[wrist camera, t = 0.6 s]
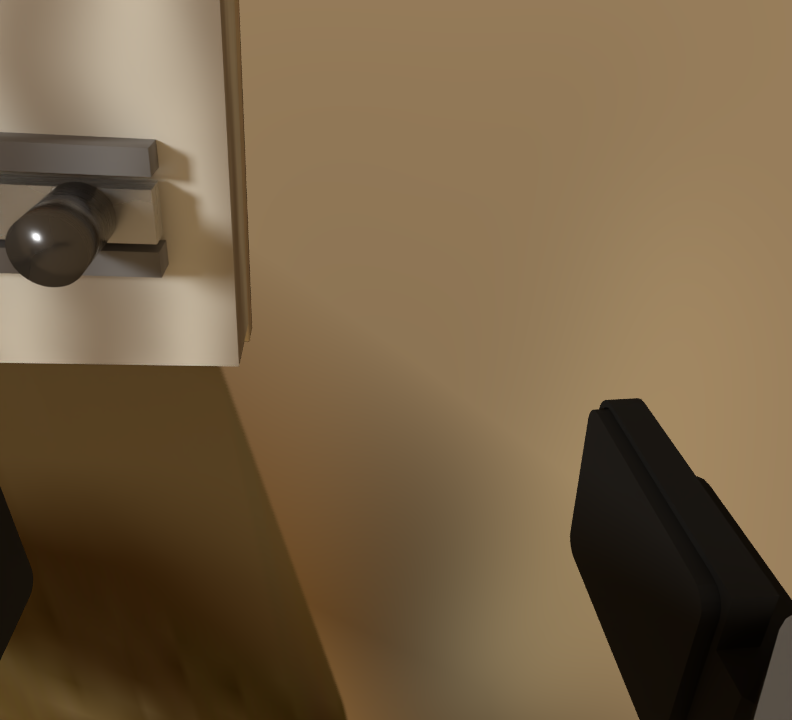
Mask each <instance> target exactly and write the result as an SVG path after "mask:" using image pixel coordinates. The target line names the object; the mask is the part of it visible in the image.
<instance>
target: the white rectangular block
mask: <svg viewBox="0 0 792 720" xmlns="http://www.w3.org/2000/svg"><path fill="white" fill-rule="evenodd" d="M243 118H244V115H243V90H242V66H241V42H240V17H239V0H0V174H14V175H38V176H62V177H86V178H109V179H133V180H157V181H158V183H159V193H160V202H161V212H162V222H163V231H164V233H163V235H162V237H161V238H160V240H159V242H158V244H128V243H106V244H105V246H104V247H103V248H102V249H101V251H100V252H99V253H98V255H97V256H96V257H95V259H94V260H93V261H92V263H91V264H90V265H89V267H88V268H87V269H86V270H85V272H84V273H83V274H82V276H81V277H80V278H79V279H78V280H77V281H75V282H74V283H72V284H70V285H67V286H64V287H45V286H41V285H38V284H36V283H33V282H31V281H29V280H28V279H26V278H25V277H23V276H22V275H21V274H20V273H19V272H18V271H17V270H16V269H15V268H14V267H13V265H12V264H11V262H10V260H9V258H8V256H7V253H6V248H5V239H0V363H60V364H124V365H187V366H239V364H240V359H241V354H242V350H243V345H244V342H249V340H250V335H251V330H252V314H251V290H250V265H249V240H248V215H247V192H246V191H247V190H246V165H245V141H244V119H243Z"/></svg>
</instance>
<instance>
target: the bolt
mask: <svg viewBox="0 0 792 720" xmlns="http://www.w3.org/2000/svg"><path fill="white" fill-rule="evenodd" d="M163 233H164V231H163V222H162V212H161V202H160V193H159V183H158V181H157V180H133V179H109V178H86V177H62V176H38V175H14V174H0V239H5V248H6V253H7V256H8V258H9V260H10V262H11V264H12V265H13V267H14V268H15V269H16V270H17V271H18V272H19V273H20V274H21V275H22V276H23V277H25V278H26V279H28V280H29V281H31V282H33V283H36V284H38V285H41V286H45V287H64V286H67V285H70V284H72V283H74V282H75V281H77V280H78V279H79V278H80V277H81V276H82V274H83V273H84V272H85V270H86V269H87V268H88V267H89V265H90V264H91V263H92V261H93V260H94V259H95V257H96V256H97V255H98V253H99V252H100V251H101V249H102V248H103V247H104V246H105V244H106V243H128V244H158V242H159V240H160V238H161V237H162V235H163Z"/></svg>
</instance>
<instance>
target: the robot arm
mask: <svg viewBox="0 0 792 720" xmlns="http://www.w3.org/2000/svg"><path fill="white" fill-rule="evenodd" d="M570 542H571V549H572V554H573V557H574V559H575V562H576V564H577V567H578V569H579V572H580V574H581V577H582V579H583V582H584V584H585V587H586V589H587V591H588V594H589V596H590V599H591V601H592V604H593V606H594V609H595V611H596V614H597V616H598V619H599V621H600V623H601V626H602V628H603V631H604V633H605V636H606V638H607V641H608V643H609V646H610V648H611V651H612V653H613V655H614V658H615V660H616V663H617V665H618V668H619V670H620V673H621V675H622V678H623V680H624V682H625V685H626V687H627V690H628V692H629V695H630V697H631V700H632V702H633V705H634V707H635V710H636V712H637V714H638V717H639V719H640V720H792V600H791V598H790V597H789V595H788V594H787V593H786V591H785V590H784V588H783V587H782V586H781V584H780V583H779V581H778V580H777V579H776V577H775V576H774V574H773V573H772V572H771V570H770V569H769V568H768V566H767V565H766V563H765V562H764V560H763V559H762V558H761V556H760V555H759V553H758V552H757V551H756V549H755V548H754V547H753V545H752V544H751V542H750V541H749V540H748V538H747V537H746V535H745V534H744V533H743V531H742V530H741V528H740V527H739V526H738V524H737V523H736V521H735V520H734V519H733V517H732V516H731V514H730V513H729V512H728V510H727V509H726V507H725V506H724V505H723V503H722V502H721V500H720V499H719V498H718V496H717V495H716V493H715V492H714V491H713V489H712V488H711V487H710V485H709V484H708V483H707V482H706V481H705V480H704V479H702V478H700V477H698V476H697V477H696V476H695V474H694V473H693V471H692V470H691V468H690V467H689V466H688V464H687V463H686V461H685V460H684V458H683V457H682V456H681V454H680V453H679V451H678V450H677V449H676V447H675V446H674V444H673V443H672V442H671V440H670V439H669V437H668V436H667V434H666V433H665V431H664V430H663V429H662V427H661V426H660V424H659V423H658V422H657V420H656V419H655V417H654V416H653V415H652V413H651V411H650V410H649V409H648V407H647V406H646V404H645V403H644V402H643V401H642V400H641V399H638V398H636V399H618V400H605V401H603V402H602V403H601V405H600V408H599V410H592V411H591V412H590V414H589V418H588V424H587V431H586V436H585V443H584V449H583V456H582V462H581V469H580V475H579V481H578V488H577V494H576V500H575V507H574V513H573V520H572V526H571V533H570ZM32 586H33V573H32V569H31V566H30V564H29V561H28V558H27V556H26V553H25V551H24V548H23V545H22V543H21V540H20V537H19V535H18V532H17V530H16V527H15V524H14V522H13V519H12V516H11V514H10V511H9V508H8V506H7V503H6V501H5V498H4V495H3V493H2V490H1V487H0V660H1V657H2V655H3V653H4V651H5V649H6V647H7V644H8V642H9V640H10V638H11V636H12V634H13V631H14V629H15V627H16V625H17V623H18V621H19V618H20V616H21V614H22V612H23V610H24V608H25V605H26V603H27V601H28V599H29V597H30V594H31V591H32Z"/></svg>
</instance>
